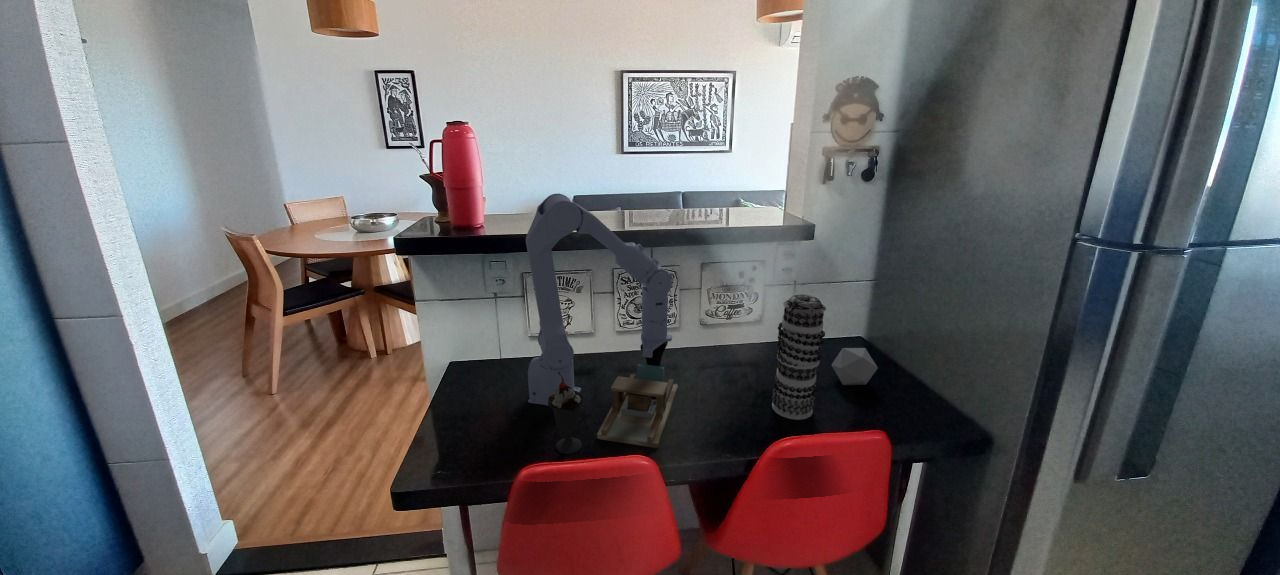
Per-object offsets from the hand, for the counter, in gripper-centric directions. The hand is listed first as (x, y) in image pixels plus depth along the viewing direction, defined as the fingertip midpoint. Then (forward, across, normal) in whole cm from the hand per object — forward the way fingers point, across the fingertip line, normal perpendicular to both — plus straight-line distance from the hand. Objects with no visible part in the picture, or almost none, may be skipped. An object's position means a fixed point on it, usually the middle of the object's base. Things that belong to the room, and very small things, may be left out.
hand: (653, 371), depth 117 cm
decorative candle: (+3, -4, -31) cm, 31 cm away
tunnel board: (+3, -13, 0) cm, 13 cm away
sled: (+2, -10, 0) cm, 10 cm away
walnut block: (+1, -14, 0) cm, 14 cm away
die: (+3, +11, -45) cm, 47 cm away
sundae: (+3, -27, +10) cm, 29 cm away
